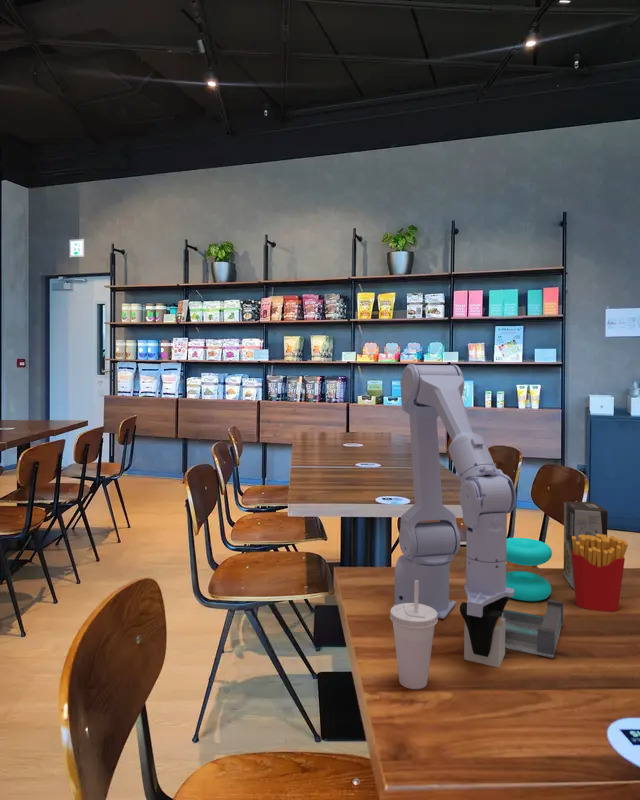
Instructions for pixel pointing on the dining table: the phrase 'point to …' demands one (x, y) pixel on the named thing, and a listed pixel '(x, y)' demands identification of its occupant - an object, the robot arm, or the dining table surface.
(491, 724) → the dining table surface
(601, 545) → the french fries
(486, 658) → the block
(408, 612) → the smoothie
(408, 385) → the robot arm
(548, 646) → the rail
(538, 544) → the donuts
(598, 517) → the coffee box
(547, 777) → the dining table surface
